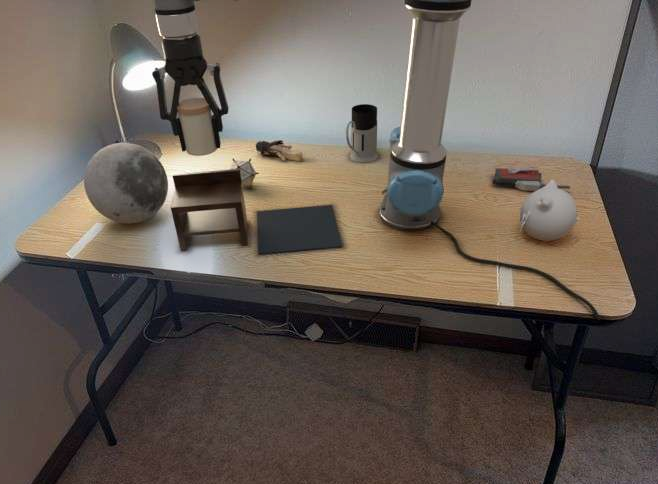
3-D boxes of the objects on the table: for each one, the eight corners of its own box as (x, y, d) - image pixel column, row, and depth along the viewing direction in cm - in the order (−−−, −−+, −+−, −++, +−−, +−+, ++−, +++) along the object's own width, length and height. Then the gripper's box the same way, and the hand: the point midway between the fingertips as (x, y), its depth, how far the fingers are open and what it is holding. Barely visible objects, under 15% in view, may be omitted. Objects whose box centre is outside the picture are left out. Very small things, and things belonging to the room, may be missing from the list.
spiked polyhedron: (246, 201, 155) (238, 186, 145) (225, 184, 157) (215, 168, 147) (267, 178, 156) (259, 162, 146) (245, 162, 158) (237, 145, 148)
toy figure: (305, 154, 171) (261, 148, 174) (305, 136, 166) (259, 130, 169) (299, 166, 166) (253, 160, 169) (298, 148, 161) (251, 142, 164)
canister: (218, 141, 122) (210, 96, 116) (217, 154, 116) (209, 107, 110) (187, 144, 122) (177, 99, 115) (184, 157, 116) (174, 110, 110)
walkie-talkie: (492, 190, 147) (569, 194, 144) (494, 176, 144) (573, 179, 141) (489, 176, 154) (563, 179, 150) (492, 161, 151) (567, 164, 148)
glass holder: (383, 154, 168) (384, 106, 158) (359, 172, 159) (360, 122, 149) (358, 148, 172) (359, 101, 162) (334, 165, 163) (333, 116, 153)
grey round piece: (569, 259, 121) (583, 212, 113) (509, 246, 125) (519, 200, 118) (576, 227, 131) (590, 181, 123) (521, 216, 136) (531, 171, 128)
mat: (331, 206, 143) (331, 204, 143) (342, 247, 128) (342, 245, 128) (256, 212, 142) (256, 211, 142) (258, 255, 127) (258, 253, 126)
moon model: (86, 239, 135) (59, 165, 122) (111, 200, 150) (89, 131, 138) (165, 237, 134) (146, 163, 122) (182, 198, 150) (166, 128, 138)
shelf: (247, 222, 139) (240, 168, 129) (247, 245, 130) (239, 189, 121) (184, 227, 137) (172, 174, 128) (180, 251, 129) (167, 196, 120)
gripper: (231, 27, 108) (246, 136, 122) (131, 34, 107) (158, 144, 121) (230, 36, 102) (246, 150, 116) (125, 44, 101) (154, 158, 115)
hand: (201, 147), depth 119 cm, fingers closed on canister, 7 cm apart
